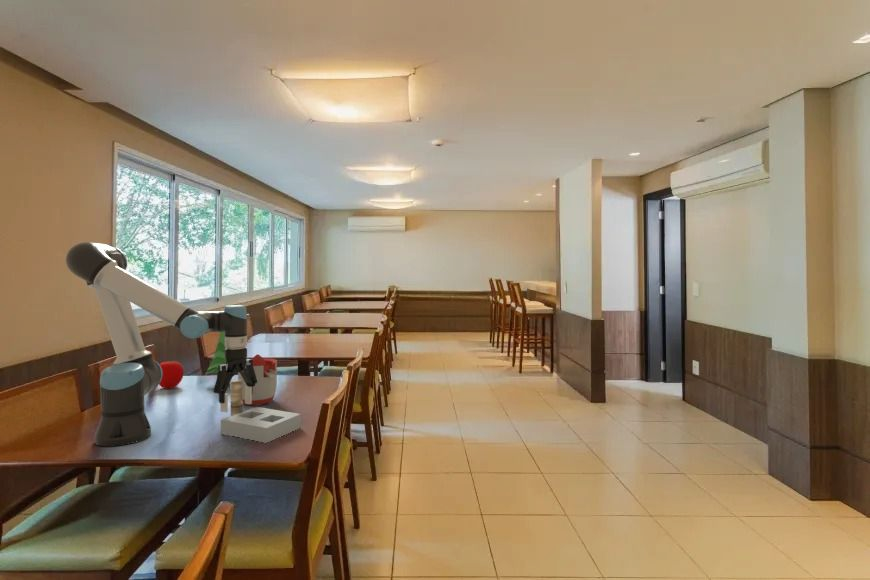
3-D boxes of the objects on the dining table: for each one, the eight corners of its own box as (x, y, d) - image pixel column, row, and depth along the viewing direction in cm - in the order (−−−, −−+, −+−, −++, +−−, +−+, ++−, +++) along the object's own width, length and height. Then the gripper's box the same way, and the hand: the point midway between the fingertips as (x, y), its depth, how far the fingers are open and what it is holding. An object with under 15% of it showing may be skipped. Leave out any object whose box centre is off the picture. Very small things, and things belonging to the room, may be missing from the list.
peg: (236, 421, 167) (236, 383, 166) (228, 419, 168) (227, 381, 168) (245, 418, 170) (244, 380, 170) (237, 416, 172) (236, 379, 172)
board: (266, 443, 145) (266, 428, 145) (220, 434, 153) (220, 419, 153) (300, 428, 160) (300, 414, 160) (257, 420, 168) (257, 406, 168)
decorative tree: (200, 388, 213) (199, 324, 212) (217, 380, 229) (216, 320, 228) (228, 389, 212) (228, 324, 211) (244, 381, 228) (243, 320, 227)
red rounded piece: (149, 389, 210) (149, 361, 210) (169, 384, 221) (169, 357, 220) (169, 391, 207) (168, 363, 206) (188, 386, 217) (188, 359, 217)
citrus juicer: (258, 410, 180) (257, 359, 180) (229, 403, 189) (228, 355, 188) (288, 400, 194) (288, 353, 193) (260, 395, 202) (260, 349, 202)
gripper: (217, 353, 156) (217, 417, 157) (267, 344, 177) (267, 400, 178) (201, 351, 160) (202, 414, 160) (252, 342, 180) (252, 398, 181)
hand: (236, 407), depth 169 cm, fingers open, 10 cm apart
